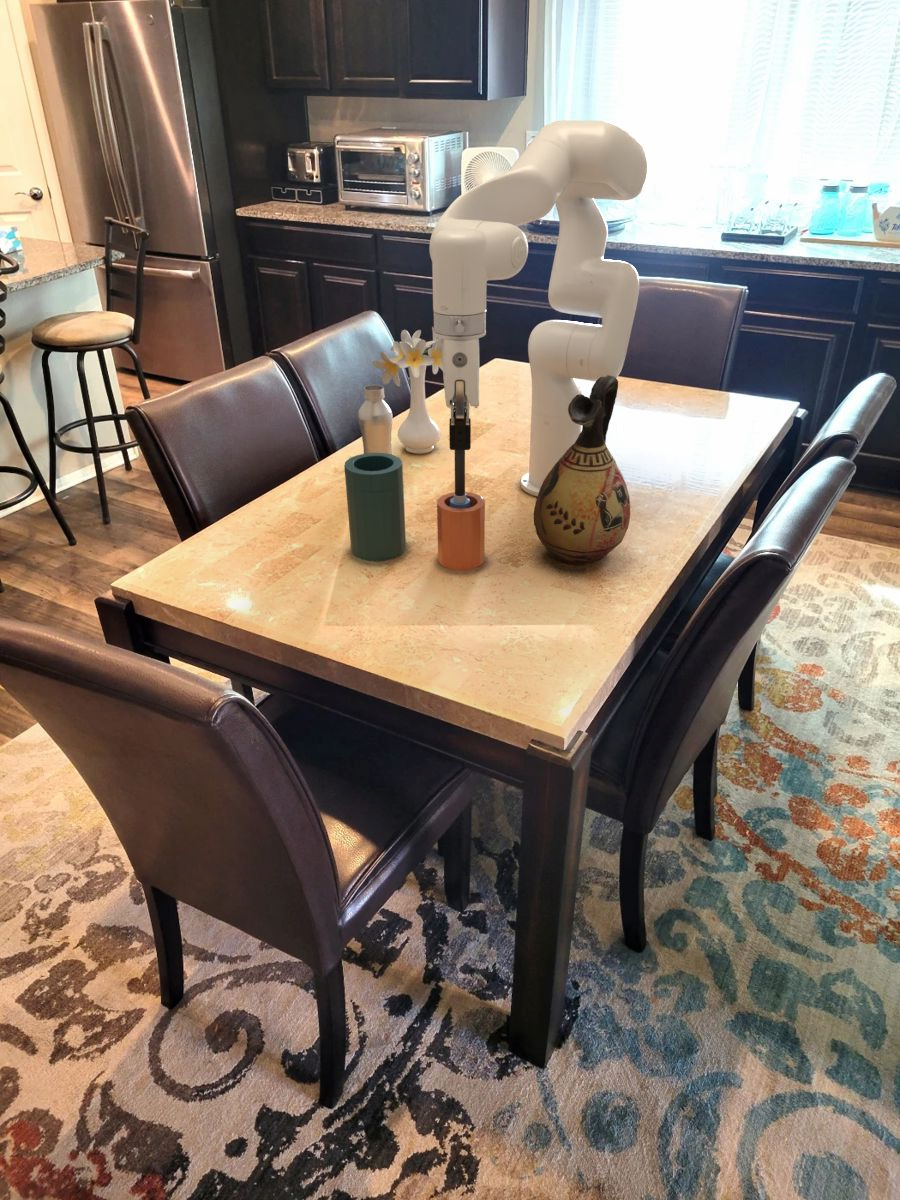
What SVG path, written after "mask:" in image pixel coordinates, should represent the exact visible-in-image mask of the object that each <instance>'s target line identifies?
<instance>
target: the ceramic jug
mask: <svg viewBox="0 0 900 1200" xmlns="http://www.w3.org/2000/svg"><path fill="white" fill-rule="evenodd" d="M618 389H619V380H618V378H615V377H613V376H610V375H607V376H606V377H600V378H599V379H598V380H597V381H594V383H593V385H592V387H591V390H590V391H591V392H590V394H589V397H588V396H585V395H584V394H578V395H576V396H575V397H574V398H573V399H572V401H571V403H570V404H569V407H568V413H569V416H570V418H571V420H572V421H573V422H574V423H576V424H579V425H581V433H580V434H579V437H578V438H577V440H576V442H575V443H574V444H573V445H572V446H571V447H570V448H569V449H568V450H567V451H566V452H565V454H564V455H563V456H562V457H561V458H560V459H559V461H558V462H557V463H556V464H555V465H554V467H553V468H552V469H551V471H550V472H549V473H548V475H547V476H546V478H545V480H544V481H543V483H542V486H541V488H540V491H539V493H538V496H536V500H535V504H534V508H533V525H534V528H535V532H536V535H537V537H538V539H539V541H540V542H541V543H542V545H543V548H545V550H546V552H547V553H548V558H550V559H551V560H552V561H554V563H556V564H558V565H560V566H564V567H568V568H584V571H586V570H592V569H594V568H596V567H598V566H600V565H601V564H602V563H603V560H604V559H605V558H606V557H607V556H608V555H609V554H610V553H611V552H613V550H614V549H616V548H617V547H618V546H619V545H620V544H621V543H622V542H623V540H624V538H625V536H626V534H627V531H628V529H629V525H630V520H631V498H630V494H629V490H628V485H627V483H626V480H625V478H624V476H623V474H622V471H621V470H620V468H619V466H618V464H617V461H616V460H615V458H614V456H613V455H612V453H611V451H610V450H609V447H608V446H607V444H606V442H607V434H608V431H609V426H610V422H611V419H612V416H613V411H614V407H615V405H616V399H617V396H618Z"/></svg>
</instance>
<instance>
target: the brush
mask: <svg viewBox="0 0 900 1200" xmlns="http://www.w3.org/2000/svg"><path fill="white" fill-rule="evenodd" d="M454 421H455V419H454ZM454 424H455V423H454ZM454 492H455V493H454V498H452V499H450V507H451V508H458V509H464V508H470V499H469V498H466V493H465V492H466V450H454Z"/></svg>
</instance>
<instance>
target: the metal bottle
mask: <svg viewBox="0 0 900 1200" xmlns="http://www.w3.org/2000/svg"><path fill="white" fill-rule="evenodd" d="M385 395H386V394H385V386H383V385H379V384H369V385H365V386H364V387H363V399H364V402H363V403H362V404H361V406H360V407H359V410H358V413H357V420H358V424H359V430H360V434H361V441H362V447H363V454H366V453H387V454H392V455H393V449H392V431H393V417H394V416H393V412H392V409H391V408H390V406H389V405H388V403H387V402H386V401H385V400H384V399H385V397H386V396H385Z"/></svg>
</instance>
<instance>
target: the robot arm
mask: <svg viewBox="0 0 900 1200" xmlns="http://www.w3.org/2000/svg"><path fill="white" fill-rule="evenodd" d="M649 167H650V166H649V159H648V155H647V152H646V150H645V148H644V145H642V144H641V143H640V142H639V141H638V140H637V139H636V138H635V137H633V136H632V135H631V134H630V133H629V132H628V131H627V130H625V129H624V128H622V127H621V126H619V125H618V124H616V123H613V122H611V121H607V120H556V121H551V122H550V123H547V124H546V125H544V126H542V128H541V129H540V130H539V131H538V132H537V134H535V136H534V137H533V138H532V140H531V141H530V143H529V144H528V145H527V146H526V148H525V149H524V150H523V152H522V153H521V154H520V155H519V157H518V158H517V159H516V161H515V162H514V163H513V164H512V166H511V167H510V168H509V170H507V171H504V172H503V173H500V174H498V175H496V176H493V177H492V178H490V179H488V180H486V181H484V182H482V183H480V184H477V185H476V186H474V187H472V188H470V189H468V190H466V191H465V192H463V193H462V194H460V195H459V196H458V197H456V199H455V200H453V202H452V203H450V205H449V206H448V207H447V208H446V210H445V211H444V212H443V214H442V215H441V217H440V218H439V219H438V221H437V223H436V224H435V226H434V228H433V230H432V233H431V235H430V240H429V247H428V248H429V257H430V259H431V269H432V271H431V272H432V275H431V276H432V312H433V313H432V315H433V316H432V321H433V322H432V323H433V324H432V327H433V329H434V336H436V337H438V338H441V339H442V357H443V371H442V379H443V390H444V399H445V406H446V407H447V408H449V409H450V418H449V426H448V428H449V429H448V431H449V433H448V434H449V435H448V437H449V439H448V441H449V450H450V451H455V450H465V451H470V450H471V448H472V447H471V446H472V443H471V441H472V424H471V423H472V422H471V421H472V420H471V418H470V407H474V409H477V408H478V407H479V406H480V340H479V339H480V338H483V337H485V336H486V335H487V291H488V290H487V288H488V287H487V283H488V281H499V280H503V281H504V280H508V279H510V278H513V277H514V276H516V275H518V274H519V273H520V272H521V271H522V269H523V268H524V266H525V264H526V262H527V259H528V256H529V255H528V254H529V243H528V239H527V237H526V235H525V233H524V231H523V230H522V229H521V228H519V226H522V225H525V224H528V223H532V222H535V221H538V220H541V219H542V218H544V217H546V216H547V215H548V214H549V213H550V212H551V210H552V209H553V208H554V206H555V207H556V211H557V215H558V220H559V221H558V222H559V223H558V224H559V229H558V238H557V242H556V243H557V244H556V246H555V247H556V248H555V253H554V257H553V262H552V268H551V273H550V278H549V283H548V285H549V286H548V292H547V298H548V304H549V305H550V307H551V308H552V309H554V311H556V312H559V313H563V314H569V315H577V316H585V317H593V318H600V319H601V324H593V323H584V322H579V321H571V320H561V319H549V320H545V321H542V322H540V323H538V324H537V325H536V326H535V327H534V328H533V329H532V331H531V332H530V335H529V336H528V337H529V338H528V343H527V353H528V361H529V367H530V375H531V407H530V408H531V409H530V434H529V435H530V436H529V437H530V438H529V457H528V458H529V459H528V460H529V461H528V472H527V473H525V474H524V475H522V477H521V478H520V488H521V489H522V490H523V491H524V492H525V493H527V494H530V495H532V496H535V497H537V496H538V493H539V491H540V488H541V486H542V483H543V481H544V480H545V478H546V476H547V475H548V473H549V472H550V471H551V469H552V468H553V467H554V465H555V464H556V463H557V462H558V461H559V459H560V458H561V457H562V456H563V455H564V454H565V452H566V451H567V450H568V449H569V448H570V447H571V446H572V445H573V444H574V443H575V442H576V440H577V438H578V437H579V434H580V433H581V431H582V425H579V424H576V423H574V422H573V421H572V420H571V418H570V416H569V413H568V407H569V404H570V403H571V401H572V399H573V398H574V397H575V396H576V395H578V394H582V390H581V388H580V385H579V383H578V382H577V380H583V381H590V382H596V381H597V380H598V379H599V378H600V377H606V376H607V375H610V376H613V377H615V378H616V379H618V377H619V375H620V374H621V372H622V369H623V367H624V364H625V361H626V357H627V353H628V348H629V343H630V339H631V334H632V329H633V325H634V320H635V316H636V311H637V306H638V300H639V295H640V294H639V293H640V277H639V273H638V271H637V269H636V268H635V266H633V264H631V263H629V262H626V261H624V260H623V261H622V260H613V259H604V257H605V252H606V247H607V242H608V237H609V229H608V224H607V221H606V219H605V216H604V215H603V213H602V211H601V209H600V208H599V206H598V204H597V203H596V201H595V200H609V201H610V200H611V201H613V200H614V201H631V200H633V199H635V198H637V197H638V196H639V195H640V194H641V193H642V191H643V190H644V188H645V186H646V184H647V181H648V178H649ZM576 379H577V380H576ZM582 395H583V394H582ZM454 419H455V421H454ZM454 423H455V424H454Z"/></svg>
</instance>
